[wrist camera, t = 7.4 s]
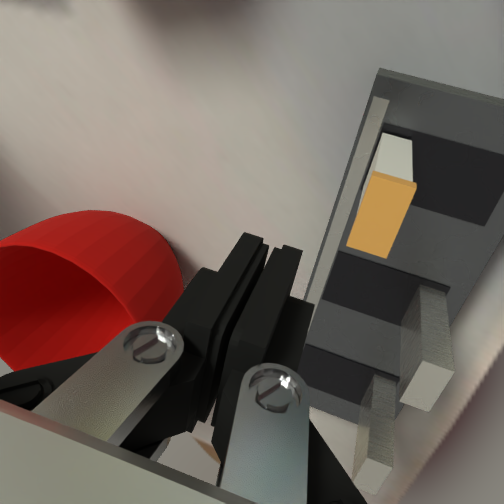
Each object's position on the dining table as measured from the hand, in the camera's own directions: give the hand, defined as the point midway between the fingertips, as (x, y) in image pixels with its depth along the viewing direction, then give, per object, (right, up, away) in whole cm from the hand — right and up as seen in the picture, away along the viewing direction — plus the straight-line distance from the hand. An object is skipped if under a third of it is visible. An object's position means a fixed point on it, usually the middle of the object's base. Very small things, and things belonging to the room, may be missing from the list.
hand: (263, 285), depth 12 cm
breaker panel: (+9, 0, +17) cm, 19 cm away
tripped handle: (+7, +5, +11) cm, 14 cm away
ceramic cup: (-8, -1, +24) cm, 25 cm away
